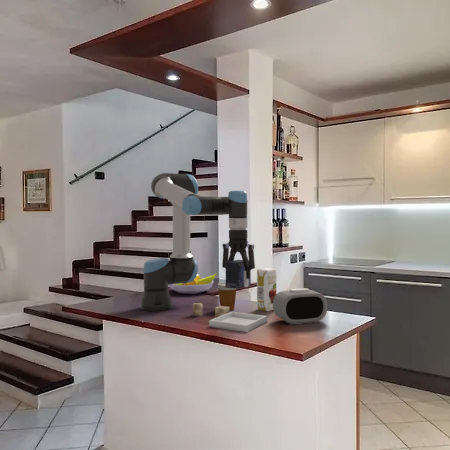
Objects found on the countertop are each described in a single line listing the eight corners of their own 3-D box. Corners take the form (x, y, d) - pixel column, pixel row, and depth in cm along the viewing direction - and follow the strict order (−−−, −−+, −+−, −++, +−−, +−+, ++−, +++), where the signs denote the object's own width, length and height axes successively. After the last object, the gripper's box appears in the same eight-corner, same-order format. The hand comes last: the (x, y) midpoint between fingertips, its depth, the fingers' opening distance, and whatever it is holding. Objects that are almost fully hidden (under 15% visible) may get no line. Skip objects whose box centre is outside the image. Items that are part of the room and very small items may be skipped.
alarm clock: (282, 326, 175) (281, 292, 175) (272, 320, 184) (272, 289, 184) (328, 322, 181) (328, 289, 181) (317, 317, 190) (317, 286, 190)
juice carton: (254, 309, 205) (254, 269, 205) (265, 306, 212) (265, 267, 211) (267, 312, 200) (267, 270, 200) (278, 309, 207) (278, 268, 206)
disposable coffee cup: (235, 312, 201) (235, 286, 201) (215, 311, 203) (215, 285, 202) (239, 307, 210) (239, 282, 210) (219, 307, 212) (219, 282, 212)
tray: (209, 326, 175) (209, 320, 175) (231, 317, 191) (231, 311, 191) (246, 332, 167) (246, 325, 167) (267, 322, 182) (267, 315, 182)
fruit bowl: (158, 293, 251) (158, 273, 250) (188, 286, 273) (188, 268, 273) (196, 298, 235) (196, 277, 234) (225, 290, 257) (225, 271, 257)
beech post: (190, 315, 195) (190, 304, 195) (196, 313, 199) (196, 302, 199) (198, 316, 193) (198, 305, 193) (204, 314, 197) (204, 303, 196)
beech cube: (215, 318, 190) (215, 307, 190) (220, 316, 194) (220, 305, 194) (224, 319, 188) (224, 308, 188) (229, 317, 192) (229, 306, 192)
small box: (239, 289, 172) (238, 262, 172) (224, 288, 175) (224, 261, 175) (251, 285, 181) (251, 259, 181) (238, 284, 184) (237, 259, 184)
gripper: (212, 229, 180) (213, 285, 180) (255, 229, 170) (255, 289, 170) (222, 228, 186) (222, 283, 187) (263, 229, 176) (264, 286, 177)
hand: (238, 285), depth 178 cm, fingers closed on small box, 6 cm apart
